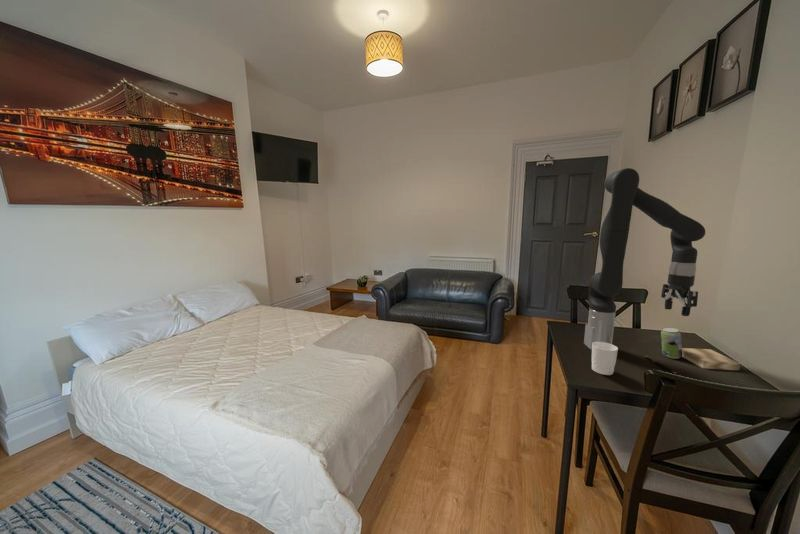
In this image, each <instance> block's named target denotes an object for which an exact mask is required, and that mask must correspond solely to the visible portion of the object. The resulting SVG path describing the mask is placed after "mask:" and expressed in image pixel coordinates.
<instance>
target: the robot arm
mask: <svg viewBox="0 0 800 534" xmlns="http://www.w3.org/2000/svg"><path fill="white" fill-rule="evenodd" d="M639 174H640V173H638V171H637V170H635V169H633V168H629V167H628V168H623V169H619V170H617V171H614V172H612V173H610V174H609V175H608V176H607V177H606V178H605V179H604V183H603V184H604V185H603V186H604V188H605V190H606V191H607V192H608V193H610V194H611V201H610V207H609V210H608V211H607V214H606V215H605V217H604V219H603V222H602V225H601V227H600V235H599V250H600V253H601V260H602V263H601V264H602V265H601V270H600V272H596V273H595V274H593V275H592V277H591V278H590V281H589V285H588V303H589V307H588V308H589V309H588V310H589V311H588V319H587V323H586V324H585V328H584V339H583V344H584V345H585V346H586V347H587V348H588V349H589V350H592V343H593V342H605V343H609V344H612V345H613V337H614V330H615V321H616V311H617V310H616V309H617V305H616V303H615V301H614V298H613V297H616V296H617V295H618V294H619V293H620V292H621V291H622V288H623V284H624V283H623V282H624V280H623V279H624V278H623V277H624V261H625V255H626V249H627V244H628V238H629V235H630V234H629V232H630V227H631V220H632V215H633V214H632V213H633V212H632V211H633V207H635V208H636V209H638V210H640V211H641V212H642V213H643V214H645V215H646V216H648V217H649V218H650V219H651V220H653V221H654V222H655V223H657V224H658V225H660V226H662V227H663V228H667V229H670V230H671V231H670V237H669V238H670V245H671V249H672V253H671V259H670V265H669V268H668V275H667V283H664V284H663V285H662V290H661V295H660V297H661V298H663V299H664V309H665V310H672V309H673V300H675V299H678V301H679V302H681V304H682V306H681V307H682V308H681V312H680V313H681V316H683V317H689V316H690V315H691V310H692V308H693V307H695V308H696V307H697V306H698V298H699V291H698V290H695V291H694V290H691V288H692V287H693V286H695V279H696V272H697V260H698V259H697V258H698V250H697V248H695V247H694V246H693V242H697V241H700V240H701V239H703V238H704V237H705V235H706V228H705V227H704V225H702V224H701V223H700V222H699V221H697V220H695V219H693V218H692V217H689V216H687V215H685V214H683V213H681V212H679V210H677V209H676V208H675V207H673V206H672V205H671V204H669V203H668V202H666V201H665V200H662V199H660V198H658V197H656V196H653V195H652V194H650V193H647V192H645V191H644V190H642V189H641V188H639V184H640V175H639Z"/></svg>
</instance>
